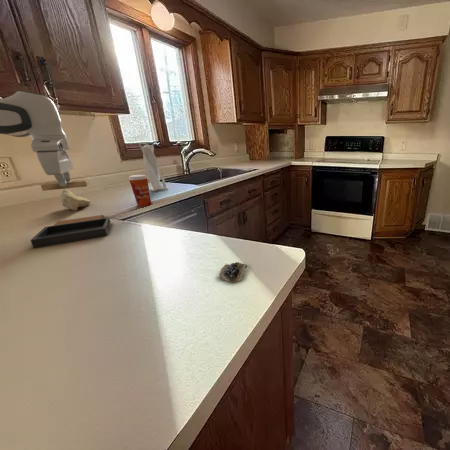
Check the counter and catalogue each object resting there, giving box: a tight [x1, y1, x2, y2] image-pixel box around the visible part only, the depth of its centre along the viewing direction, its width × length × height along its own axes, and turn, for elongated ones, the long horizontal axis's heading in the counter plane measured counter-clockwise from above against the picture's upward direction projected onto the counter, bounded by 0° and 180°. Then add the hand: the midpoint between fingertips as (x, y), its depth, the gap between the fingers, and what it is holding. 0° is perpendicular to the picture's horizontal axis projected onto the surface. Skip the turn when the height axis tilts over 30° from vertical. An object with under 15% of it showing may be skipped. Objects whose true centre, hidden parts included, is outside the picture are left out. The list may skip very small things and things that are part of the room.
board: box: [40, 179, 90, 192], centre depth 89 cm, size 12×5×2 cm, turn 122°
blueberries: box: [218, 261, 248, 284], centre depth 56 cm, size 7×8×2 cm
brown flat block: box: [53, 214, 104, 226], centre depth 94 cm, size 14×10×1 cm
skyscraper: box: [138, 142, 168, 193], centre depth 147 cm, size 8×8×28 cm
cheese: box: [60, 189, 91, 211], centre depth 112 cm, size 15×7×15 cm
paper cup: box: [128, 174, 152, 207], centre depth 115 cm, size 8×8×14 cm
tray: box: [30, 217, 112, 249], centre depth 82 cm, size 18×14×3 cm
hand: (66, 184), depth 89 cm, fingers closed on board, 5 cm apart
